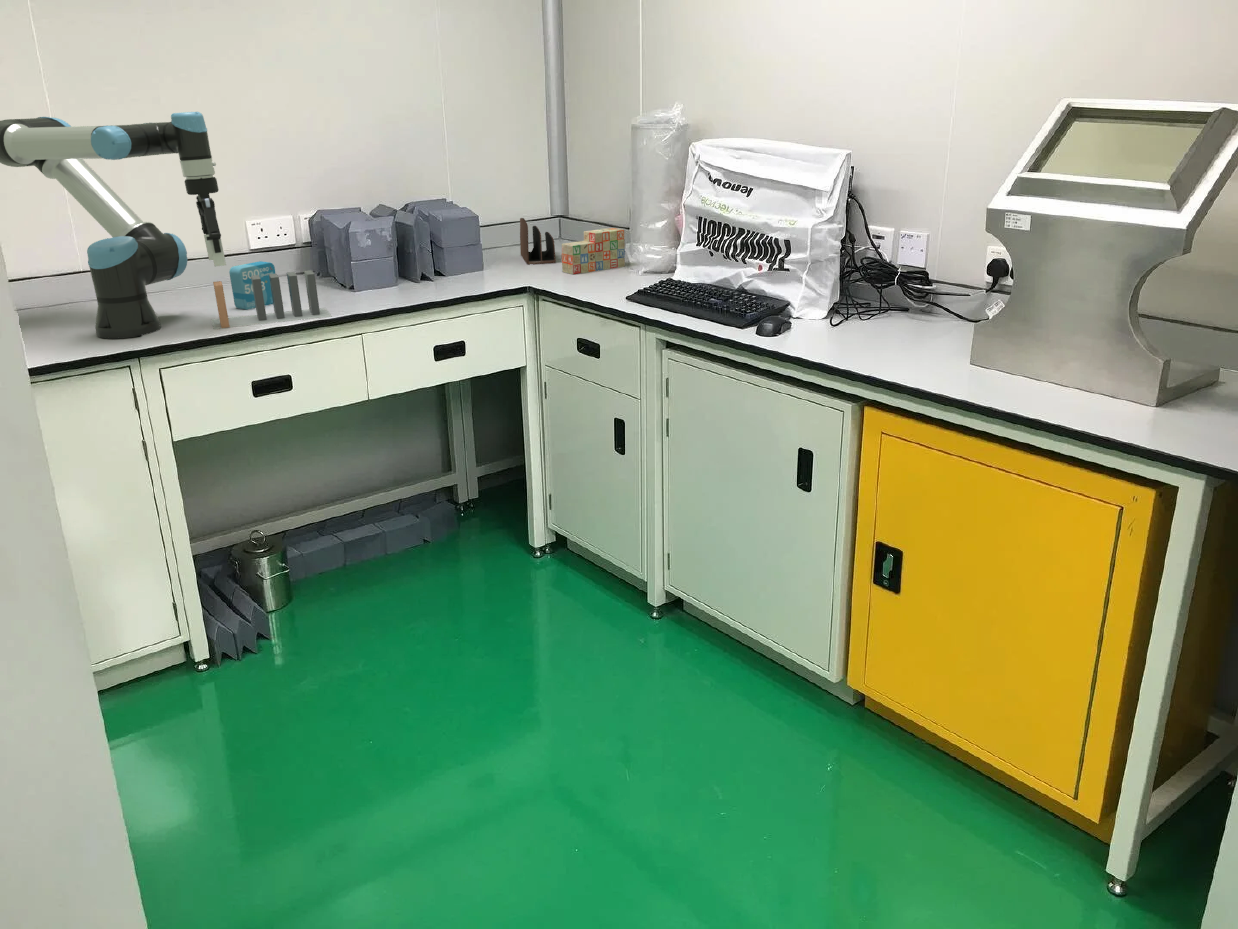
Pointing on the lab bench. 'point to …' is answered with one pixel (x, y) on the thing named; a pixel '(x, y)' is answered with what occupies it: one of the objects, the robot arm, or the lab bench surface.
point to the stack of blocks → (594, 251)
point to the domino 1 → (221, 304)
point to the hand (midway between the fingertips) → (217, 262)
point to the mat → (269, 318)
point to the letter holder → (536, 246)
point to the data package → (250, 283)
